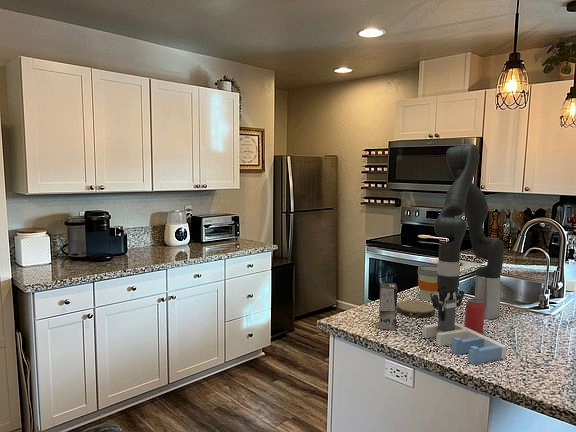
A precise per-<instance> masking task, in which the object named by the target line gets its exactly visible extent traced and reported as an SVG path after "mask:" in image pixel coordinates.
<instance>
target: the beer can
mask: <svg viewBox="0 0 576 432" xmlns="http://www.w3.org/2000/svg"><path fill="white" fill-rule="evenodd" d="M484 309H485V307H484V303H483V301H482V300H480V299H475V298H474V297H473V298H468V299H467V301H466V304H465V312H464V327H466V328H469V329H471V330H473V331H475V332H477V333H479V334H482V333H483V332H484V322H485V319H484Z"/></svg>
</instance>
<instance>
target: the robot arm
mask: <svg viewBox="0 0 576 432" xmlns="http://www.w3.org/2000/svg"><path fill="white" fill-rule="evenodd" d="M445 157H446V163H447V165H448V169H449V171H450V174H451V176H452V178H453V181H454V182H453V183H452V184H451V185H450V186H449V188H448V189H447V192H446V196H445V199H444V204H443V207H442V210H441V211H440V213H439V215H438V216H437V218H436V220H435V222H434V225H433V230H434V233H435V234H436V236H437V237H440V238H442V237H444V238H453V239H454V240H453V241H451V242H446V243H441V244H440V245H439V246H438V262H437V266H438V267H437V285H438V289H437V292H436V293H434V294H433V293H431V294H430V296H431V300H432V301H431V302H432V303H431V304H432V305H433V307H434V308H435V310H437V318H439V320H441V321H444V315H445V311H444V310H445V305H446V300H448V299H456V308H455V314H456V312H457V311H456V310H457V308H460V307H461V305H462V302H463V299H464V296H465V290H461V289H459V287H460V279H461V276H460V275H461V264H460V260H461V259H460V257H461V256H460V255H461V247H462V243H463V240H464V237H465V234H466V232H467V228H468V232H469V236H470V243H471V247H472V251H473V255H475V257H476V258H478V259H482V260H487V264H486V265H484V266H479V267H477V268H476V270H475V285H474V299H480V300H482V301H483V303H484V307H485V309H484V320H496V319H497V318H498V317H500V316H501V315H500V314H501V313H500V311H501V294H500V284H501V283H500V282H501V273H502V271H503V265H504V263H503V262H504V255H505V245H504V242H503V241H502V239H499V238H495V237H494V238H493V237H486V235H485V233H484V223H485V221H486V220H487V217H488V214H489V207H488V206H489V205H488V202H487V199H486V195H485V193H484V192H483V191H482V190H481V189H480V188H479V187H478V186H477V185H476V184H474V183H473V180H474V178H475V175H476V172H477V169H478V166H479V163H480V158H481V157H480V150H479V147H478V146H477V145H476V144H474V143H469V144H467V143H466V144H462V145H457V146H451V147H449V148H448V149H447V150H446V154H445ZM463 214H464V217H465V219H466V220H465V219H464V218H461V217H460V216H462V215H463ZM438 296H439V297H438ZM440 299H441V300H443V301H444V302H442V301H441V300H440ZM441 304H442V307H441Z"/></svg>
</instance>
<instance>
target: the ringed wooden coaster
mask: <svg viewBox="0 0 576 432" xmlns="http://www.w3.org/2000/svg"><path fill="white" fill-rule="evenodd" d="M396 313H398V314H400V315H401V316H405V317H406V318H407V317H408V318H412V317H414V318H413V319H428V318H433V317H434V316H435V315H436V308H434V307H433V304H432V303H429V302H427V301H426V302H425V301H421V300H401V301H397V312H396Z"/></svg>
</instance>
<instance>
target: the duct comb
mask: <svg viewBox="0 0 576 432" xmlns="http://www.w3.org/2000/svg"><path fill="white" fill-rule="evenodd" d="M422 337H423V338H425V339H428V338H429V339H430V337H431V338H435V337H436V339H435V340H436V344H435V345H437V346H439V347H443V346H449V345H451V348H450V349H451V353H452V354H454V355H455V356H456V355H463V354H467V363H470V364H471V365H477V364H482V363H486V362H487V363H488V362H493V361H498V360H503V359H504V360H505V359H506V358H507V351H508V346H507V345H506V344H502V343H501V342H499V341H496V340H494V339H492V338H491V337H488V336H486V335H483V334H482V333H480V334H479V333H477V332H475V331H473V330H471V329H469V328H466V327H465V325H462V324H460V323H457V321H455V330H453V331H447V332H442V331H440V330H438V323H433V324H426V325H425V324H424V325H422Z"/></svg>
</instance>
